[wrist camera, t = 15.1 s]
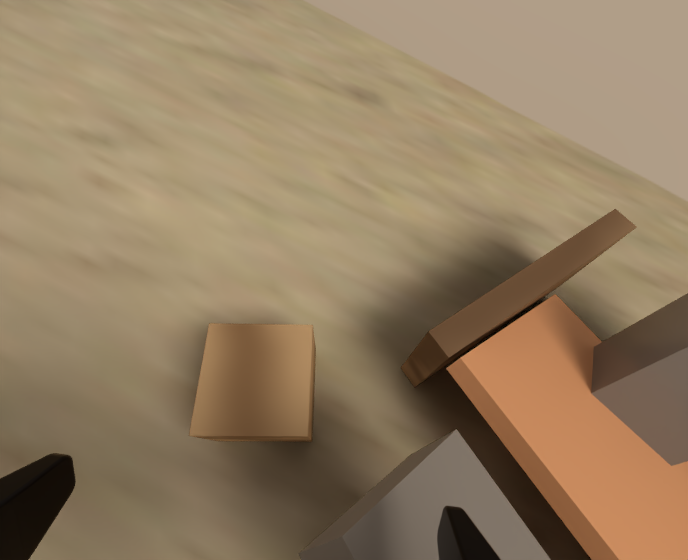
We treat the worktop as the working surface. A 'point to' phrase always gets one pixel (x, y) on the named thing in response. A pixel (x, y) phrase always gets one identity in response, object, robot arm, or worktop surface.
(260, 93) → the worktop surface
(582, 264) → the frame
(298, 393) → the brown cube-like block
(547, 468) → the trapdoor
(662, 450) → the stone
